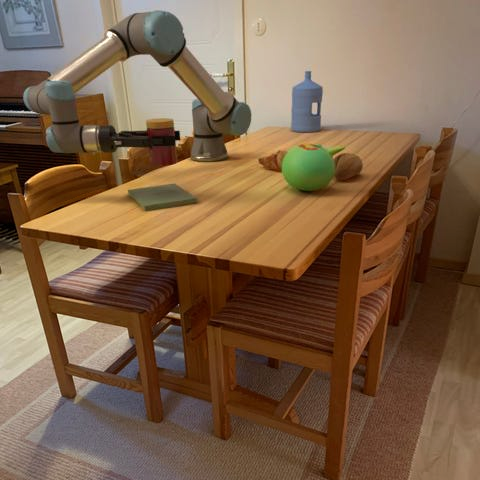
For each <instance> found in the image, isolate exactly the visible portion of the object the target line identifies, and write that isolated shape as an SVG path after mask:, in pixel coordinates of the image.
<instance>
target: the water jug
mask: <svg viewBox="0 0 480 480" xmlns="http://www.w3.org/2000/svg"><path fill="white" fill-rule="evenodd" d="M291 88H292V89H291V123H290V130H291V131H292V132H294V133H316V132H319V131H321V128H322V123H321V122H322V114H321V109H322V101H323V93H324V89H323V86H322V85H320V84H319V83H317V82H315V81H313V80H312V70H306V71H304V79H303V80H302V81H301V82H299V83H297V84H296V85H294V86H292V87H291ZM314 103H316V105H317V107H316V108H317V109H316V113H313V104H314Z"/></svg>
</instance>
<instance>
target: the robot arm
mask: <svg viewBox="0 0 480 480" xmlns="http://www.w3.org/2000/svg"><path fill="white" fill-rule="evenodd" d="M183 30H184V27H183V24H182V23H181V21H180V20H179V18H178V17H177V16H176V15H175V14H174V13H172V12H169V11H167V10H153V11H145V12H134V13H131V14H129V15H128V16H126V17H125V18H122V20H120V21H119V22H117V23H116V24H115V25H113V26H112V27H111V28H109V29H107V30H106V32H104V34H103V38H102V39H100V40H98V41H97V42H96V43H95V44H93V45H92V46H91V47H89V48H88V49H86V50H85V51H83V52H82V53H81V54H80V55H78V56H77V57H75V58H74V59H73V60H71V61H69V62H68V63H67V64H66V65H64V66H63V67H62V68H60V69H59V70H57V71H56V72H54V73H53V74H52V75H51V76H49V77H48V78H47V79H45V80H43V81H42V82H40V83H39V84H38V85H31V86H28V87H27V88H26V89H25V90H24V92H23V96H22V98H23V99H22V100H23V103H24V105H25V107H26V108H27V109H28V110H29V111H31V112H33V113H36V114H39V115H46V116H47V115H48V116H50V119H51V125H50V126H48V127H47V128H46V131H45V141H46V145H47V146H48V148H49V150H50V151H51V152H53V153H55V154H56V153H57V154H65V155H66V154H88V153H89V154H90V153H92V154H91V155H93V156H95V155H96V153H104V154H105V153H116V152H117V150H118V148H140V149H141V148H143V149H144V148H145V149H148V150H149V149H153V148H152V145H153V146H176V147H177V144H176V143H177V141H180V142H181V132H180V131H181V130H175V136H152V138H151V137H150V136H149V137H147V129H145V130H120V132H117V130H116V128H115V126H114V125H111V124H108V125H104V124H103V125H98V124H97V125H96V124H95V125H93V124H91V125H89V124H88V125H80V119H79V114H78V113H79V112H78V107H77V100H76V94H77V93H78V92H79V91H81V90H82V89H83V88H84V87H86V86H87V85H88V84H90V83H92V82H93V81H94V80H95V79H97V78H99V76H101V75H102V74H103V73H105V72H106V71H108V70H109V69H110V68H111V67H113V66H114V65H116V64H117V63H119V62H125V61H127V60H128V59H130V58H133V57H135V56H140V55H141V56H142V55H145V56H146V55H148V56H149V55H150V56H151V58H153V60H154V61H156V63H157V64H158V65H159V66H160V67H162V68H168V69H169V70H170V71H171V72H172V73H173V74H174V75H175V76H176V77H177V78H178V79H179V80H180V81H181V82H182V83H183V85H184V86H185V87H186V88H187V89H188V90H189V91H190V92H191V94H193V96H194V97H195V99H193V100H192V103H191V114H192V115H191V116H192V127H193V128H192V129H193V143H192V147H191V152H190V159H191V160H192V161H196V162H206V163H207V162H220V161H223V160H226V159H228V157H229V155H228V154H229V152H228V150H227V147H226V144H225V141H224V138H223V137H224V135H228V136H229V135H230V136H232V137H233V136H234V137H237V136H243V135H245V134H246V133H247V131H248V130H249V128H250V126H251V123H252V110H251V108H250V105H249V104H247V103H246V102H243V101H238V99H236V97H235V96H234V95H233V94H232V93H231V91H224V90H223V88H222V87H221V86H220V85H219V83H217V82H216V80H215V79H214V77H212V75H211V74H210V73H209V72H208V70H207V69H206V68H205V67H204V66H203V65H202V63H200V61H199V60H198V59H197V57H195V55H194V54H193V53H192V52H191V50H189V48H188V47H187V38H186V37H185V33H184V32H183ZM223 134H224V135H223Z"/></svg>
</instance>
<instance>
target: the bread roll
mask: <svg viewBox="0 0 480 480" xmlns="http://www.w3.org/2000/svg"><path fill="white" fill-rule="evenodd" d="M333 159H334V162H335V173H334V176H333V178H334V179H335V180H337V181H345V180H349V179H351V178H352V177H355V176H357V175H359V174H361V172H362V170H363V167H364V165H363V161H362V158H360V156H359V155H357V154H354V153H349V152H344V153H340V154H339V153H338V155H336V156H335V157H334V158H333Z"/></svg>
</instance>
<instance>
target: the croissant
mask: <svg viewBox="0 0 480 480" xmlns="http://www.w3.org/2000/svg"><path fill="white" fill-rule="evenodd" d="M287 152H288V151H285V150H281V149H280V150H278V151H277V152H276V153H271V154H270V155H268V156H263V157H260V158H257V159H258V161H257V162H258V164H260V165H261V166H263V167H264V168H265V169H267V170H272V171H277V172H278V171H279V172H282V162H283V159H284V157H285V155H286V154H287Z"/></svg>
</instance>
